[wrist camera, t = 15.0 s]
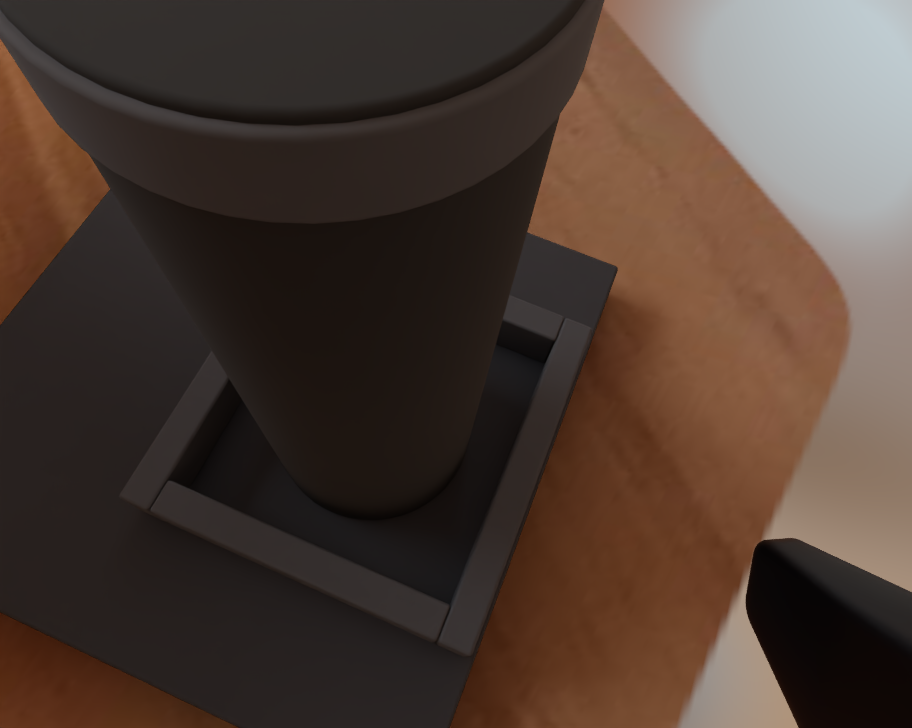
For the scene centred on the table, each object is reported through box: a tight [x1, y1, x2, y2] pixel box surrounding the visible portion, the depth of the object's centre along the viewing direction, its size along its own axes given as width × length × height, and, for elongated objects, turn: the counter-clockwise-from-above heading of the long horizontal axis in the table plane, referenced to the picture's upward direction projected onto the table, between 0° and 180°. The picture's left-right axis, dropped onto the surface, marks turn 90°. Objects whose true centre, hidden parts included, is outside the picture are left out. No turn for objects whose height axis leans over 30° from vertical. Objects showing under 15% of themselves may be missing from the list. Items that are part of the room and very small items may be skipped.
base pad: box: [0, 189, 618, 728], centre depth 18 cm, size 15×15×3 cm
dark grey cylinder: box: [0, 0, 604, 520], centre depth 11 cm, size 5×5×14 cm
